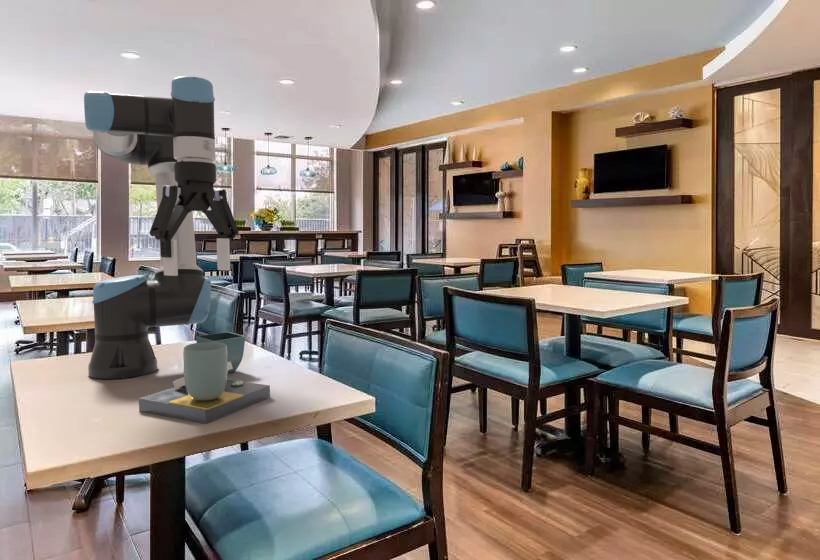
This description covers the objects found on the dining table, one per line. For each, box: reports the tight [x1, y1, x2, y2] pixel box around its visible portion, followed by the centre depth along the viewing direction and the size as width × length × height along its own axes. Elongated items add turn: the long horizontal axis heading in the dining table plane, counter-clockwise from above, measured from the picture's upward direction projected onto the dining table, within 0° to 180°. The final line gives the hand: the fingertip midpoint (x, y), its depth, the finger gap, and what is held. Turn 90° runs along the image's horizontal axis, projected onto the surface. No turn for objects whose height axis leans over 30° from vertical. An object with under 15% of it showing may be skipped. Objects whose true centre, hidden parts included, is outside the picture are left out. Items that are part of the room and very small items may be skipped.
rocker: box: [172, 376, 185, 389], centre depth 117 cm, size 7×3×2 cm, turn 63°
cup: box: [182, 342, 228, 401], centre depth 110 cm, size 8×8×10 cm
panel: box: [138, 378, 271, 425], centre depth 116 cm, size 17×18×3 cm
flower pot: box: [195, 331, 246, 374], centre depth 141 cm, size 9×9×9 cm
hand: (198, 272), depth 113 cm, fingers open, 13 cm apart
